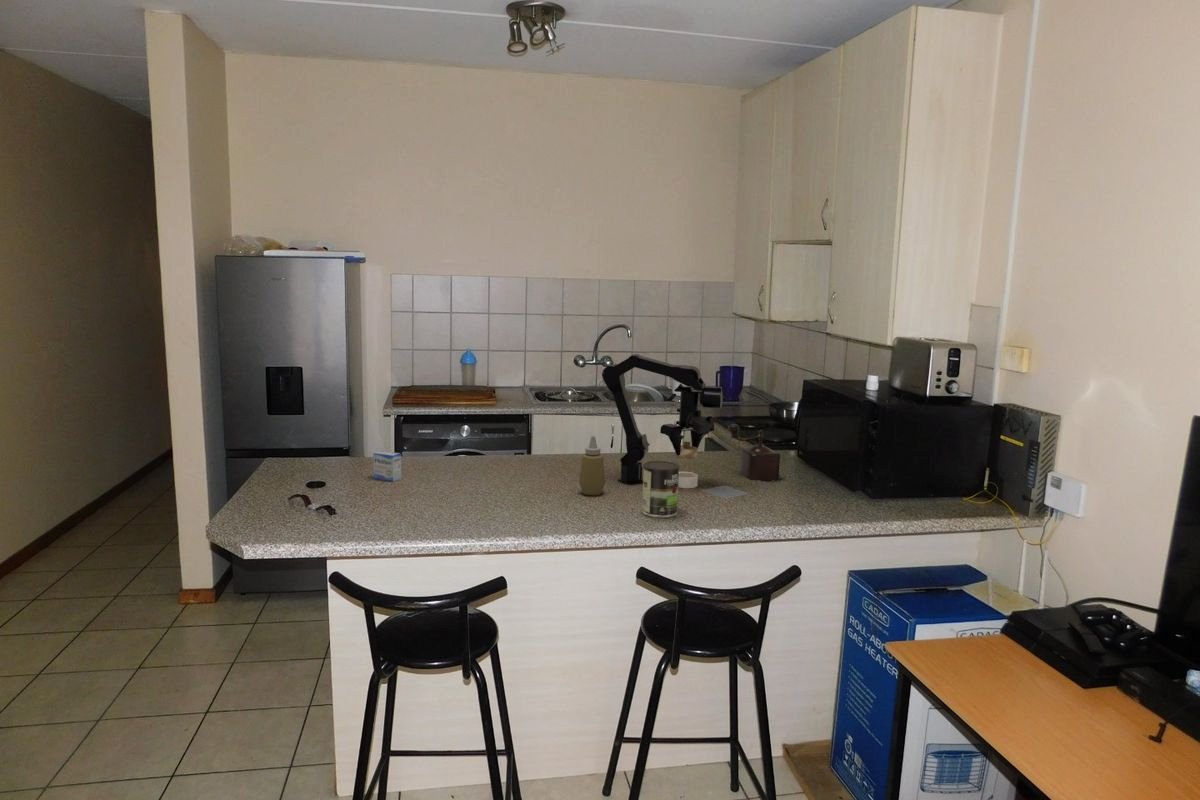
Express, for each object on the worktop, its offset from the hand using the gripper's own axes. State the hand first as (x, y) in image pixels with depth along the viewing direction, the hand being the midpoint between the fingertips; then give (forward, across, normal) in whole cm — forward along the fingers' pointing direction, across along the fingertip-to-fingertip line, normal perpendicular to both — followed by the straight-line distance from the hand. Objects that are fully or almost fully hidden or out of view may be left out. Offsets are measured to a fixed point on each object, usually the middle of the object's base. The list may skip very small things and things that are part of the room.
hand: (686, 454), depth 255 cm
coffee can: (+11, -25, -16) cm, 32 cm away
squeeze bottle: (+11, -30, +10) cm, 33 cm away
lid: (+1, 0, 0) cm, 1 cm away
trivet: (+11, +5, -13) cm, 18 cm away
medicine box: (+12, -76, +59) cm, 97 cm away
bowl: (+11, 0, 0) cm, 11 cm away
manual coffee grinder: (+11, +27, -4) cm, 29 cm away
